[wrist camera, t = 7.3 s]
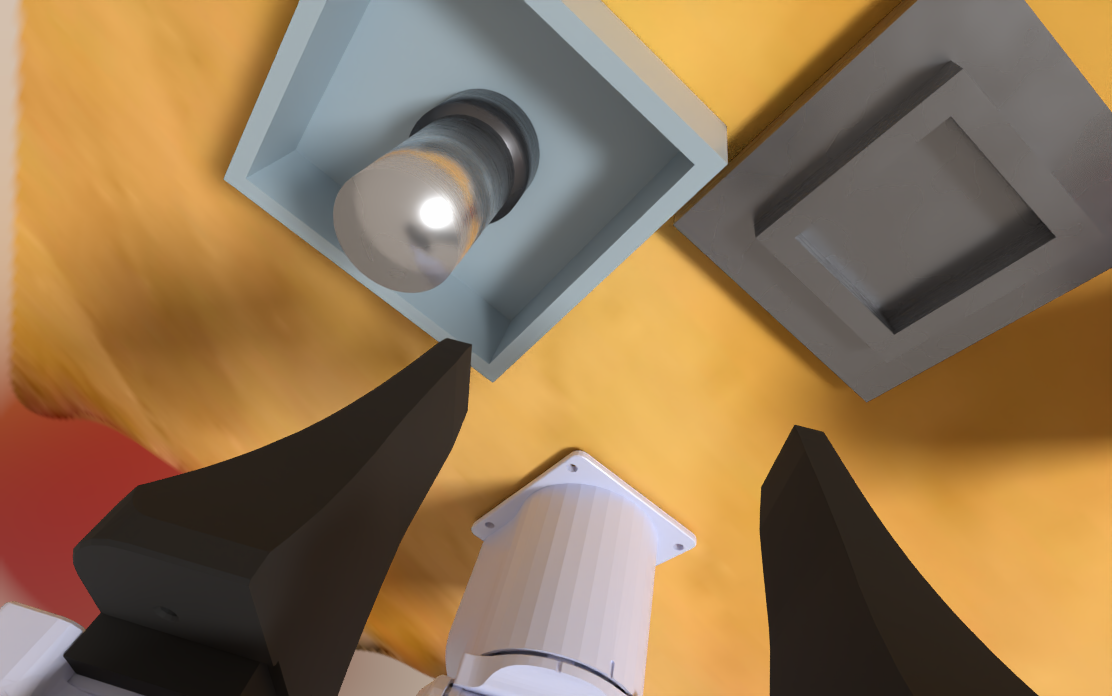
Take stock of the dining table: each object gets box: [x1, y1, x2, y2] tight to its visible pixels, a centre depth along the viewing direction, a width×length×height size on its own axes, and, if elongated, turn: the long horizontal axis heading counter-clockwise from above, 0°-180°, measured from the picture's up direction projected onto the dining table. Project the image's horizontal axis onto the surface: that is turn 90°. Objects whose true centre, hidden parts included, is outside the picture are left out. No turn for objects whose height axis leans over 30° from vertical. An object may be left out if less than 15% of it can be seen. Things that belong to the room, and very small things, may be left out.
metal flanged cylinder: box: [333, 89, 540, 293], centre depth 17 cm, size 4×4×7 cm
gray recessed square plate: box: [673, 0, 1112, 402], centre depth 18 cm, size 10×10×2 cm
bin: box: [224, 0, 728, 382], centre depth 19 cm, size 11×11×4 cm
